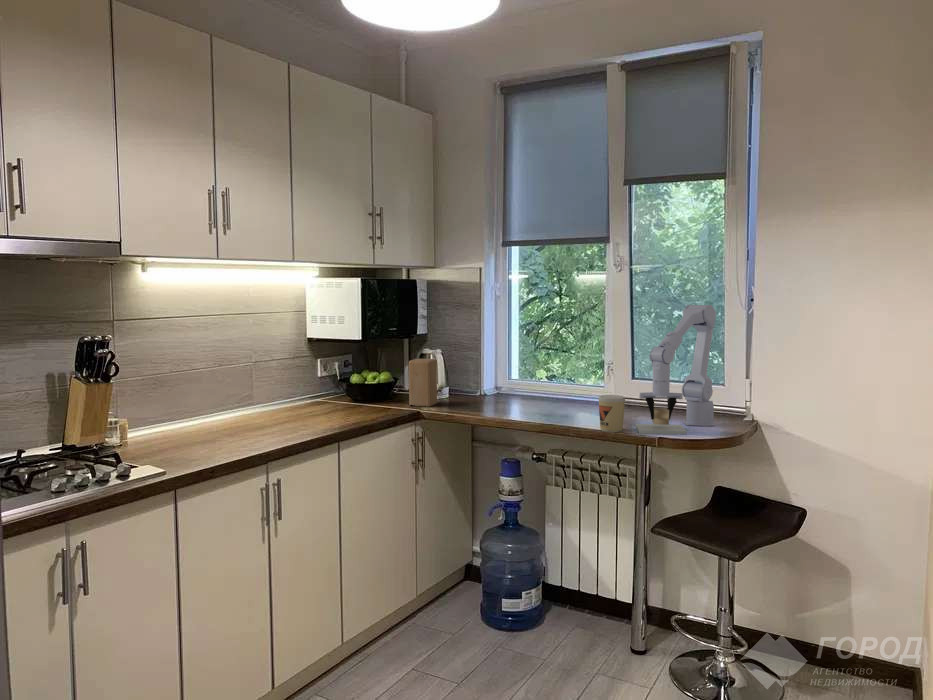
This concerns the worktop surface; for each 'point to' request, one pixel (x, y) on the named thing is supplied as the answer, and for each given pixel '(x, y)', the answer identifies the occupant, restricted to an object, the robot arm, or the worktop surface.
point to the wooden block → (423, 382)
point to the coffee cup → (611, 412)
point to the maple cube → (661, 416)
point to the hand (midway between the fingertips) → (660, 419)
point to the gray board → (660, 429)
